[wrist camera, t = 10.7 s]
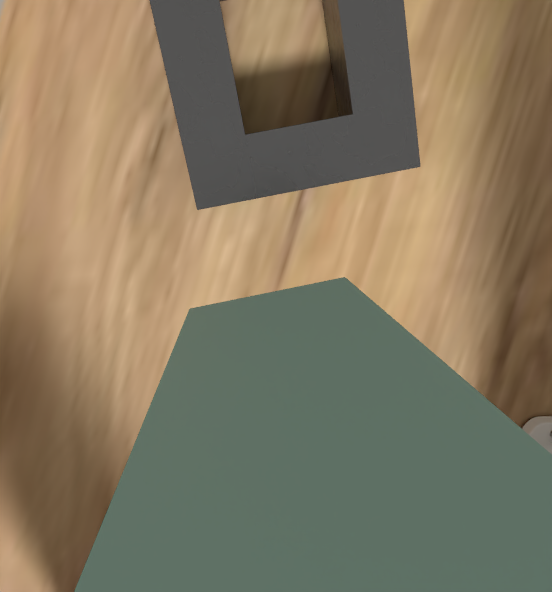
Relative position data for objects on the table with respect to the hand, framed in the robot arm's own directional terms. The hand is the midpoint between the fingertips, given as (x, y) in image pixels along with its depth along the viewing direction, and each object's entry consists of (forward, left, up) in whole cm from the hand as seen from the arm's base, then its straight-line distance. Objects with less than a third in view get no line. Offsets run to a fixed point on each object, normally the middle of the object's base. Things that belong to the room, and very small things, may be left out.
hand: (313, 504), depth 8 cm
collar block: (-4, -13, -27) cm, 31 cm away
